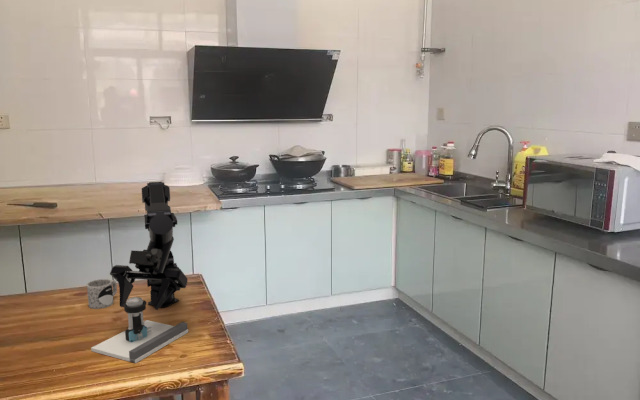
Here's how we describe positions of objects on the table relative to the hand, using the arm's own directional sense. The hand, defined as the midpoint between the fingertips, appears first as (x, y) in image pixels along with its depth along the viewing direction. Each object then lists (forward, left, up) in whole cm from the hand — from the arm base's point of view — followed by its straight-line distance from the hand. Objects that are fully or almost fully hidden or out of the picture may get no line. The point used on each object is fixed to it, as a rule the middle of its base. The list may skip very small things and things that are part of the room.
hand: (138, 307), depth 125 cm
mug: (-15, -28, -9) cm, 33 cm away
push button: (0, 0, -8) cm, 8 cm away
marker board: (0, +1, -8) cm, 8 cm away
